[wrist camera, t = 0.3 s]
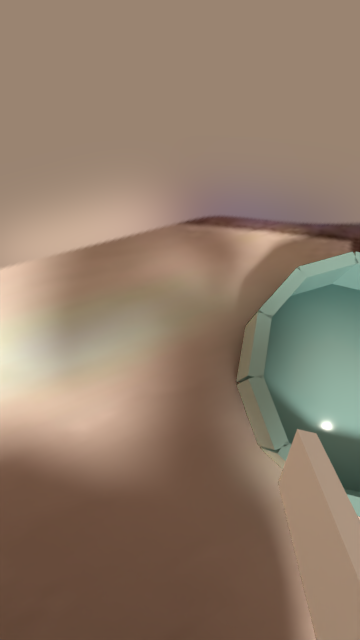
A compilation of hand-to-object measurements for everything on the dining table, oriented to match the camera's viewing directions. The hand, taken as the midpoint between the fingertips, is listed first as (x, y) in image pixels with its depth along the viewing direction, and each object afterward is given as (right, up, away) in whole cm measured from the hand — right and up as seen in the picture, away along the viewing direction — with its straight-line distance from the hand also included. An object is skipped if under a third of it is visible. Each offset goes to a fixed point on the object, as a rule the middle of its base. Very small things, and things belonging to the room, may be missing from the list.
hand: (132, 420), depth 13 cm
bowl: (+18, -2, +17) cm, 25 cm away
